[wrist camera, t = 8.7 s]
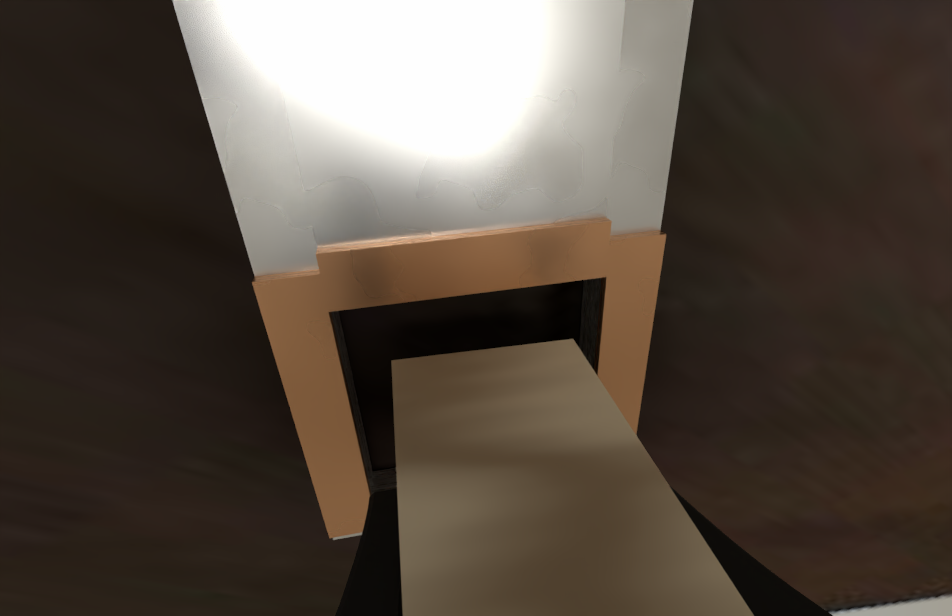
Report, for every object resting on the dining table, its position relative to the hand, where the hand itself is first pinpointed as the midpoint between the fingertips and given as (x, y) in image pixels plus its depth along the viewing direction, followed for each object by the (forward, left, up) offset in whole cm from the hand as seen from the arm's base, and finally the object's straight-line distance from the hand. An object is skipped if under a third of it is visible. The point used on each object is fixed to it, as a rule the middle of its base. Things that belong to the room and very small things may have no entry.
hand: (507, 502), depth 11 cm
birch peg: (0, 0, -2) cm, 3 cm away
